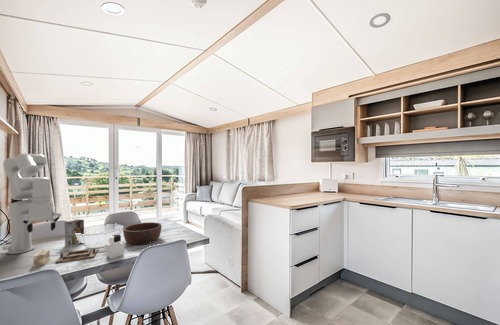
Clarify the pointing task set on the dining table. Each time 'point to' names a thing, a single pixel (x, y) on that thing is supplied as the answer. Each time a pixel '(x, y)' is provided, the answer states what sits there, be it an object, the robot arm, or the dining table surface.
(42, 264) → the oak key block
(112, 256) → the medicine bottle
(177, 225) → the dining table surface
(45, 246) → the dining table surface
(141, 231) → the wooden bowl
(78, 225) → the coffee box
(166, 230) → the dining table surface
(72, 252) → the keyed frame
